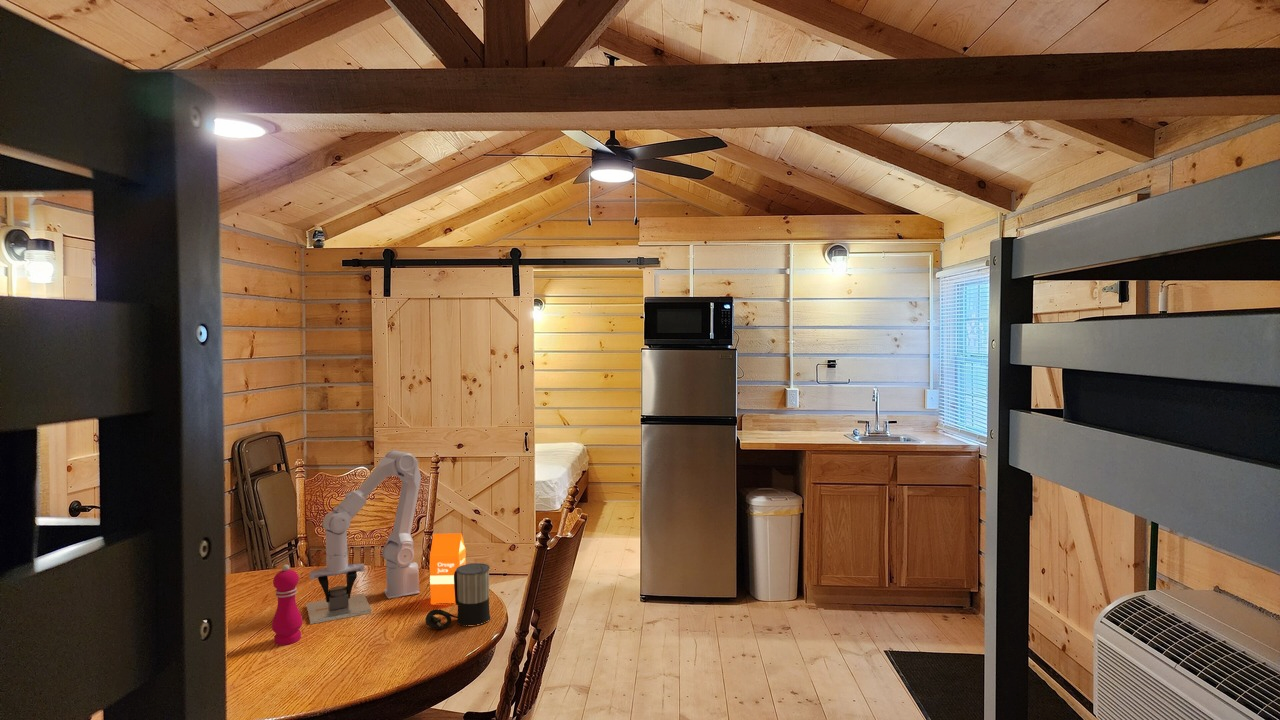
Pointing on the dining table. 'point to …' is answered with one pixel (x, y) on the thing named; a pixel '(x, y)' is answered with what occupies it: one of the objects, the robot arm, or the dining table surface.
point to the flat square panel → (322, 612)
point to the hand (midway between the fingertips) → (338, 599)
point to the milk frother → (467, 597)
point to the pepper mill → (286, 608)
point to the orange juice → (445, 566)
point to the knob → (338, 597)
